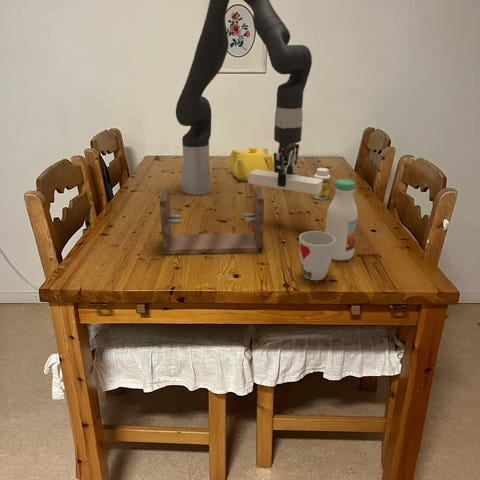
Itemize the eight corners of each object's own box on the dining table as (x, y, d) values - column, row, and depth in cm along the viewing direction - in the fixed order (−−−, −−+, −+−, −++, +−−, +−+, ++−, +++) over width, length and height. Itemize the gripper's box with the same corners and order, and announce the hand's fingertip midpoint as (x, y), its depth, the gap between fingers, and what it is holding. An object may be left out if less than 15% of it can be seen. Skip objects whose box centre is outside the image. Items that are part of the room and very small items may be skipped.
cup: (294, 268, 114) (296, 231, 110) (326, 267, 115) (329, 230, 111) (300, 285, 107) (303, 246, 103) (335, 283, 108) (339, 244, 104)
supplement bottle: (319, 201, 160) (322, 172, 156) (309, 196, 164) (311, 168, 160) (331, 198, 163) (334, 169, 158) (321, 194, 167) (323, 166, 163)
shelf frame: (163, 255, 121) (159, 200, 115) (166, 239, 130) (163, 188, 124) (262, 252, 123) (263, 198, 116) (258, 237, 132) (259, 186, 126)
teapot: (278, 181, 180) (279, 151, 175) (236, 184, 177) (236, 153, 172) (266, 170, 195) (267, 141, 190) (227, 172, 192) (227, 143, 187)
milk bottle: (335, 263, 117) (343, 187, 109) (317, 251, 123) (323, 179, 115) (359, 257, 120) (368, 183, 112) (340, 246, 126) (347, 175, 118)
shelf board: (248, 183, 137) (248, 173, 135) (255, 178, 141) (255, 169, 140) (316, 194, 128) (317, 184, 127) (322, 189, 132) (322, 179, 131)
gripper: (285, 118, 134) (282, 175, 141) (265, 127, 123) (263, 188, 130) (309, 120, 131) (305, 178, 138) (291, 129, 120) (288, 192, 127)
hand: (285, 183), depth 134 cm, fingers closed on shelf board, 5 cm apart
